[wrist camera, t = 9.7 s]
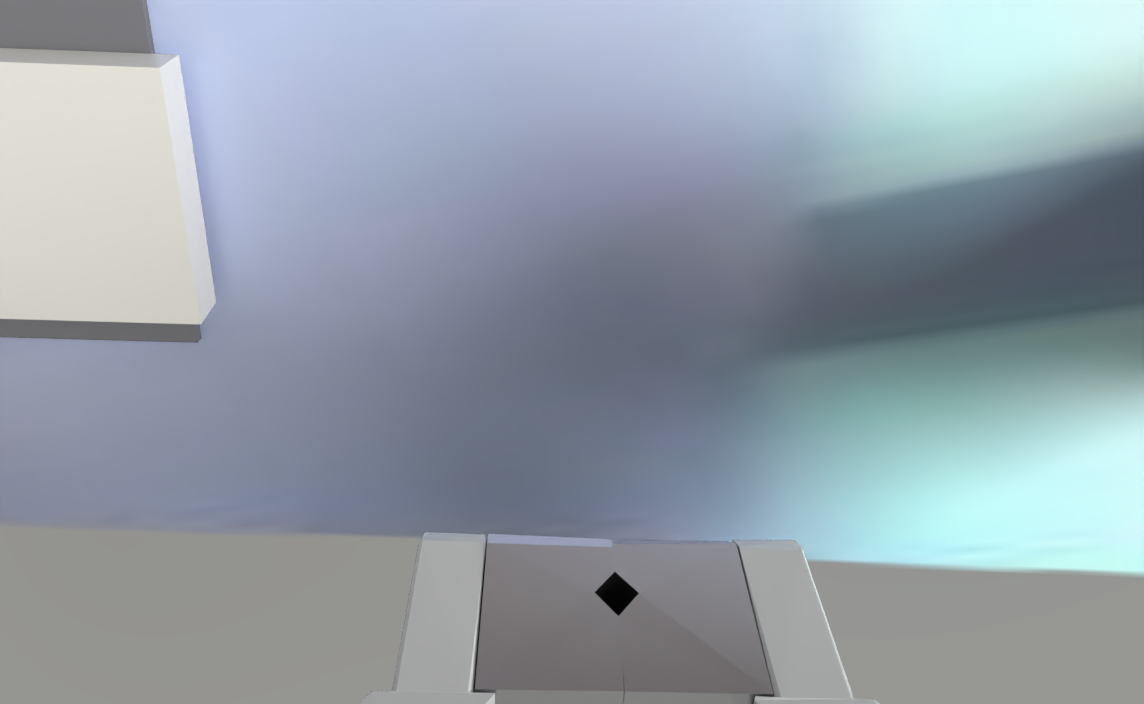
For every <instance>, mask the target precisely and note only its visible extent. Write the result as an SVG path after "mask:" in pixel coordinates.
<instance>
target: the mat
mask: <svg viewBox="0 0 1144 704" xmlns="http://www.w3.org/2000/svg"><path fill="white" fill-rule="evenodd" d="M0 48H16V49H42V50H69V51H95V52H122V53H148V54H155V52H154V46H153V40H152V34H151V27H150V21H149V15H148V9H147V3H146V0H0ZM0 337H18V338H53V339H89V340H125V341H160V342H196V343H198V342H199V340H200V339H201V336H200V329H199V324H165V323H130V322H95V321H60V320H26V319H0Z"/></svg>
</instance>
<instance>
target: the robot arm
mask: <svg viewBox="0 0 1144 704" xmlns="http://www.w3.org/2000/svg"><path fill="white" fill-rule="evenodd" d="M359 704H879V703H878V702H876V701H875V700H874V699H854V697H853V695H852V692H851V689H850V686H849V683H848V680H847V677H846V674H845V672H844V668H843V665H842V662H841V659H840V657H839V654H838V651H837V648H836V645H835V642H834V639H833V636H832V633H831V630H830V627H829V625H828V622H827V619H826V616H825V613H824V610H823V607H822V604H821V601H820V598H819V595H818V592H817V590H816V587H815V583H814V581H813V578H812V575H811V572H810V569H809V566H808V563H807V560H806V557H805V554H804V551H803V548H802V547H801V546H800V545H799V544H798V543H797V542H796V541H795V540H733V541H732V542H729V541H675V540H612V539H596V538H573V537H551V536H529V535H506V534H489V535H488V538H487V536H486V535H484V534H461V533H436V532H425V533H424V535H423V537H422V539H421V541H420V543H419V544H418V550H417V555H416V561H415V567H414V572H413V577H412V583H411V589H410V594H409V599H408V605H407V611H406V616H405V621H404V627H403V633H402V638H401V644H400V650H399V655H398V660H397V666H396V671H395V677H394V682H393V688H392V691H371V692H370V693H369V694H368V695H367V696H366V697H365V698H364V699H363V700H362V701H361V702H360V703H359Z"/></svg>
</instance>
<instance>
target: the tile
mask: <svg viewBox="0 0 1144 704" xmlns="http://www.w3.org/2000/svg"><path fill="white" fill-rule="evenodd" d="M215 303H216V298H215V291H214V284H213V278H212V271H211V264H210V258H209V251H208V244H207V238H206V231H205V225H204V218H203V211H202V205H201V198H200V191H199V185H198V178H197V171H196V165H195V158H194V152H193V145H192V138H191V132H190V125H189V118H188V112H187V105H186V98H185V92H184V85H183V79H182V72H181V65H180V59H179V55H175V54H148V53H122V52H95V51H69V50H42V49H16V48H0V319H26V320H60V321H95V322H130V323H165V324H200V325H201V324H202V322H203V321H204V319H205V318H206V316H207V315H208V313H209V312H210V310H211V309H212V307H213V306H214V304H215Z"/></svg>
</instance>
